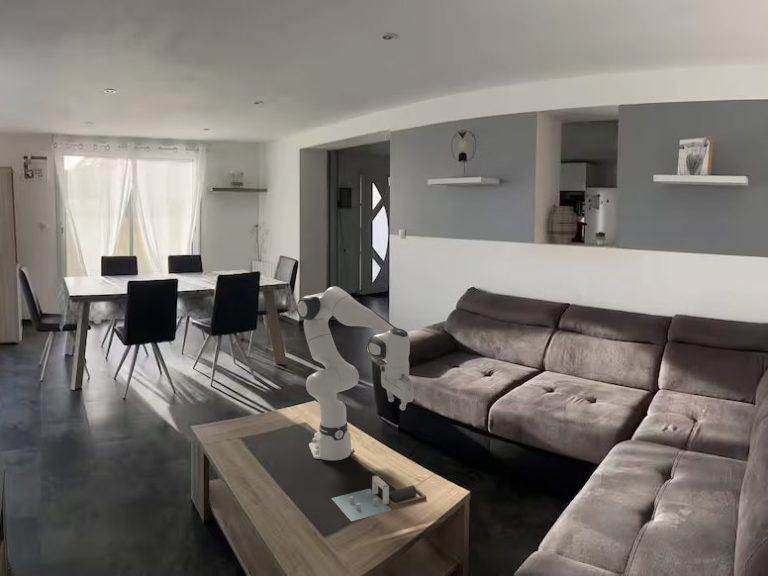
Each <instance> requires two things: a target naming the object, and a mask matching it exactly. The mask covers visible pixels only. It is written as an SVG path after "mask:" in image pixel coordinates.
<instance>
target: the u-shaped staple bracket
mask: <svg viewBox="0 0 768 576" xmlns="http://www.w3.org/2000/svg"><path fill="white" fill-rule="evenodd" d="M371 477H372V478H371V481H372V483H371V485H372V486H371V490H372V494H373V495H374V494H376V495H377V494H379V488H380V489H381V490H382V501H383V504H384V505H385V504H386V505H390V504H389V499H390V497H389V493H390V486H389V485H388V483H386V482H385V481H384V480H383V479H382V478H380V476H379V475H377V474H376V475H372V476H371Z"/></svg>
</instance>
